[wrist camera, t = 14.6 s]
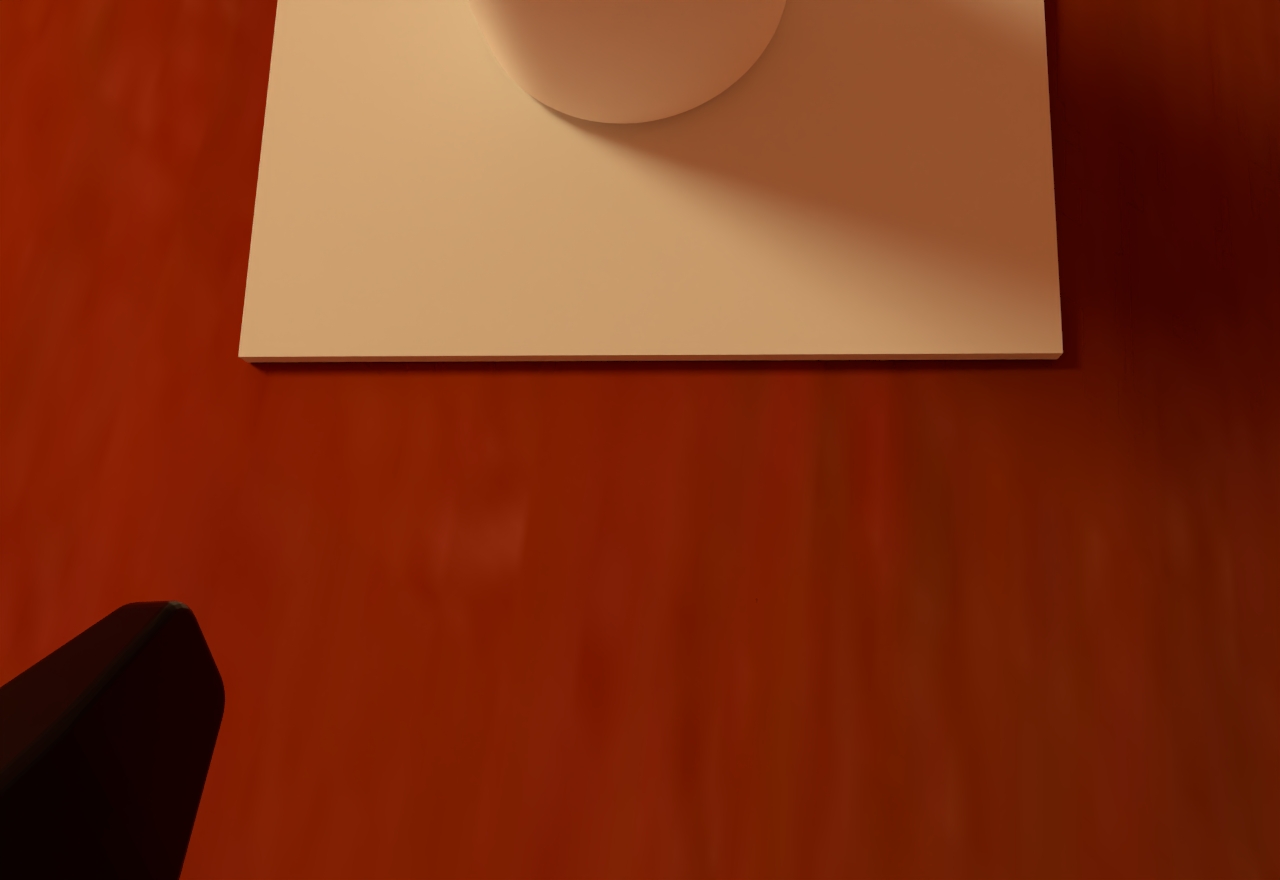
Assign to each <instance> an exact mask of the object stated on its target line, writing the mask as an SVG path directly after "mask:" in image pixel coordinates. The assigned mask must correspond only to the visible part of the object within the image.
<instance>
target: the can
mask: <svg viewBox="0 0 1280 880" xmlns="http://www.w3.org/2000/svg"><path fill="white" fill-rule="evenodd" d="M468 2H469V4H470V7H471V9H472V11H473V13H474V15H475V17H476V20H477V22H478V24H479V26H480V28H481V30H482V32H483V34H484V36H485V39H486V41H487V43H488V45H489V47H490V49H491V50H492V52H493V54H494V55H495V57H496V59H497V60H498V62H499V63H500V65H501V66H502V68H503V69H504V70H505V71H506V73H507V74H508V75H509V76H510V77H511V78H512V80H513V81H514V82H515V83H516V84H517V85H519V86H520V87H521V88H522V89H523V90H524V91H526V92H527V93H528V94H529V95H531V96H532V97H534V98H535V99H537V100H538V101H540V102H542V103H543V104H545V105H547V106H549V107H551V108H553V109H555V110H557V111H559V112H562V113H565V114H567V115H570V116H573V117H577V118H580V119H585V120H589V121H595V122H602V123H616V124H627V123H641V122H648V121H654V120H659V119H663V118H667V117H671V116H674V115H677V114H680V113H683V112H686V111H688V110H690V109H693V108H695V107H697V106H699V105H701V104H703V103H705V102H707V101H709V100H711V99H712V98H714V97H716V96H717V95H719V94H720V93H722V92H723V91H724V90H726V89H727V88H729V87H730V86H731V85H732V84H734V83H735V82H736V81H737V80H738V79H739V78H741V77H742V76H743V75H744V74H745V73H746V72H747V71H748V70H749V69H750V68H751V66H752V65H753V64H754V63H755V62H756V61H757V59H758V58H759V57H760V56H761V54H762V53H763V51H764V50H765V49H766V47H767V45H768V44H769V42H770V40H771V39H772V37H773V35H774V33H775V31H776V29H777V27H778V24H779V22H780V19H781V17H782V14H783V11H784V7H785V3H786V0H468Z"/></svg>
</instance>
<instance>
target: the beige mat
mask: <svg viewBox="0 0 1280 880" xmlns="http://www.w3.org/2000/svg"><path fill="white" fill-rule="evenodd" d="M1062 354H1063V344H1062V325H1061V307H1060V289H1059V270H1058V252H1057V233H1056V215H1055V196H1054V178H1053V159H1052V141H1051V122H1050V104H1049V86H1048V67H1047V49H1046V30H1045V12H1044V0H786V3H785V7H784V11H783V14H782V17H781V19H780V22H779V24H778V27H777V29H776V31H775V33H774V35H773V37H772V39H771V40H770V42H769V44H768V45H767V47H766V49H765V50H764V51H763V53H762V54H761V56H760V57H759V58H758V59H757V61H756V62H755V63H754V64H753V65H752V66H751V68H750V69H749V70H748V71H747V72H746V73H745V74H744V75H743V76H742V77H741V78H739V79H738V80H737V81H736V82H735V83H734V84H732V85H731V86H730V87H729V88H727V89H726V90H724V91H723V92H722V93H720V94H719V95H717V96H716V97H714V98H712V99H711V100H709V101H707V102H705V103H703V104H701V105H699V106H697V107H695V108H693V109H690V110H688V111H686V112H683V113H680V114H677V115H674V116H671V117H667V118H663V119H659V120H654V121H648V122H641V123H627V124H616V123H602V122H595V121H589V120H585V119H580V118H577V117H573V116H570V115H567V114H565V113H562V112H559V111H557V110H555V109H553V108H551V107H549V106H547V105H545V104H543V103H542V102H540V101H538V100H537V99H535V98H534V97H532V96H531V95H529V94H528V93H527V92H526V91H524V90H523V89H522V88H521V87H520V86H519V85H517V84H516V83H515V82H514V81H513V80H512V78H511V77H510V76H509V75H508V74H507V73H506V71H505V70H504V69H503V68H502V66H501V65H500V63H499V62H498V60H497V59H496V57H495V55H494V54H493V52H492V50H491V49H490V47H489V45H488V43H487V41H486V39H485V36H484V34H483V32H482V30H481V28H480V26H479V24H478V22H477V20H476V17H475V15H474V13H473V11H472V9H471V7H470V4H469V2H468V0H278V3H277V12H276V21H275V30H274V40H273V49H272V58H271V67H270V76H269V85H268V94H267V103H266V112H265V121H264V130H263V139H262V148H261V157H260V166H259V175H258V184H257V193H256V202H255V211H254V220H253V229H252V238H251V247H250V256H249V265H248V274H247V283H246V293H245V302H244V311H243V320H242V329H241V338H240V347H239V356H238V357H240V358H241V359H243V360H245V361H246V362H466V361H725V360H984V359H1058V358H1059V357H1060V356H1061V355H1062Z"/></svg>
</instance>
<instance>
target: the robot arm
mask: <svg viewBox="0 0 1280 880" xmlns="http://www.w3.org/2000/svg"><path fill="white" fill-rule="evenodd" d="M224 705H225V691H224V686H223V681H222V678H221V675H220V673H219V671H218V668H217V666H216V664H215V661H214V659H213V657H212V654H211V652H210V650H209V647H208V645H207V643H206V640H205V638H204V636H203V633H202V631H201V629H200V626H199V624H198V622H197V619H196V617H195V615H194V614H193V612H192V610H191V609H190V608H189V607H188V606H187V605H185V604H184V603H181V602H178V601H154V602H135V603H129V604H126V605H123V606H122V607H120V608H118V609H117V610H115V611H114V612H112V613H111V614H109V615H108V616H106V617H105V618H103V619H102V620H100V621H99V622H97V623H96V624H94V625H93V626H91V627H90V628H88V629H87V630H85V631H84V632H82V633H81V634H79V635H78V636H76V637H75V638H74V639H72V640H71V641H69V642H68V643H66V644H65V645H63V646H62V647H60V648H59V649H57V650H56V651H54V652H53V653H51V654H50V655H48V656H47V657H45V658H44V659H42V660H41V661H39V662H38V663H36V664H35V665H33V666H32V667H30V668H29V669H27V670H26V671H24V672H23V673H21V674H20V675H18V676H17V677H15V678H14V679H12V680H11V681H9V682H8V683H6V684H5V685H3V686H2V687H1V688H0V880H179V878H180V874H181V871H182V867H183V863H184V859H185V856H186V852H187V848H188V845H189V841H190V837H191V833H192V830H193V826H194V822H195V818H196V815H197V811H198V807H199V803H200V800H201V796H202V792H203V789H204V785H205V781H206V777H207V774H208V770H209V766H210V762H211V759H212V755H213V751H214V747H215V744H216V740H217V736H218V732H219V729H220V725H221V721H222V718H223V713H224Z"/></svg>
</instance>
